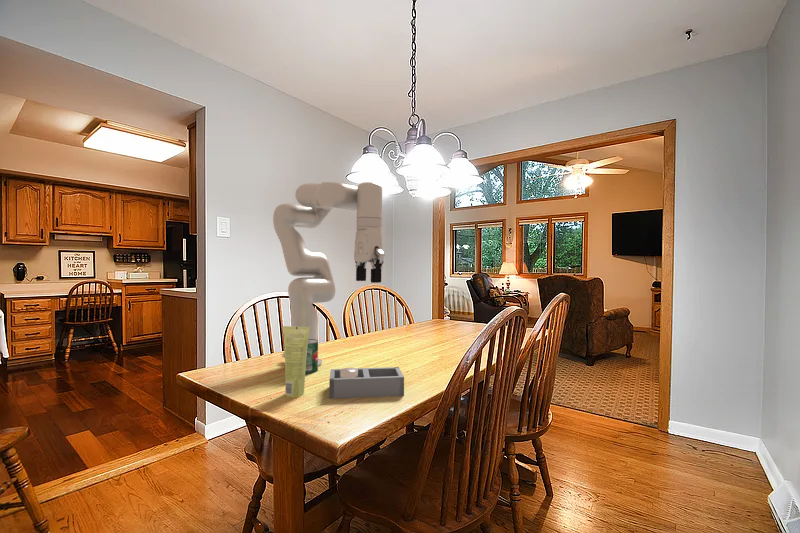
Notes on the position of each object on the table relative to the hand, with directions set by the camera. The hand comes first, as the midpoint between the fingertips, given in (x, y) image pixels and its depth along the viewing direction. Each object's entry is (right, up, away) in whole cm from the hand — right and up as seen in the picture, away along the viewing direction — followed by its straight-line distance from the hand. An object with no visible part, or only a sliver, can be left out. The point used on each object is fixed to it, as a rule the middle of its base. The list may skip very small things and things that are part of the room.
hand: (368, 281), depth 116 cm
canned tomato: (-22, -31, +13) cm, 40 cm away
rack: (0, -31, -7) cm, 32 cm away
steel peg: (-5, -30, -8) cm, 32 cm away
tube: (-19, -32, -11) cm, 38 cm away
